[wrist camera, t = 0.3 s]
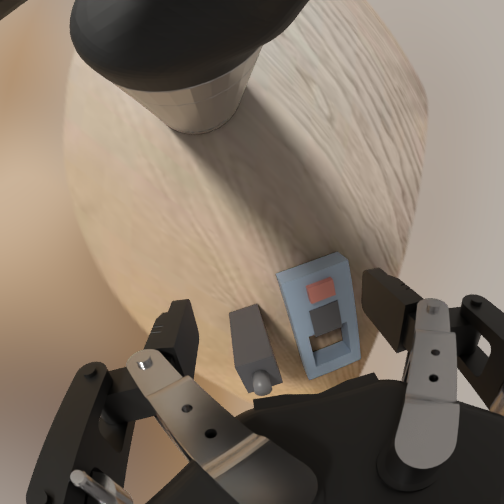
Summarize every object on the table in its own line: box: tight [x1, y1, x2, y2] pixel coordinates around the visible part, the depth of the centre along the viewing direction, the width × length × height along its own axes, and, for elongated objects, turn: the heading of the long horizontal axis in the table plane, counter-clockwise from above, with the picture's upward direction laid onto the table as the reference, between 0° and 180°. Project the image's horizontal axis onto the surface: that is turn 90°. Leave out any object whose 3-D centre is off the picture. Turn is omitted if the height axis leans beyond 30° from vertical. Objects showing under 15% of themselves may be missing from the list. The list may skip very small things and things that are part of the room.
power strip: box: [276, 252, 361, 380], centre depth 33 cm, size 16×8×4 cm, turn 18°
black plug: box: [229, 304, 283, 396], centre depth 28 cm, size 4×4×12 cm
